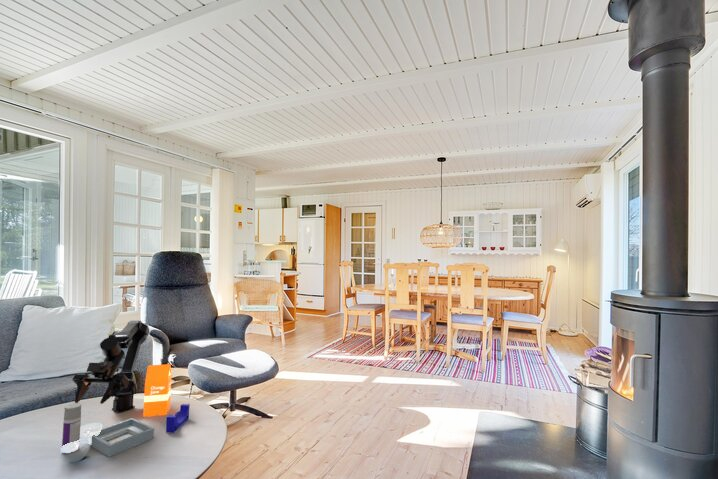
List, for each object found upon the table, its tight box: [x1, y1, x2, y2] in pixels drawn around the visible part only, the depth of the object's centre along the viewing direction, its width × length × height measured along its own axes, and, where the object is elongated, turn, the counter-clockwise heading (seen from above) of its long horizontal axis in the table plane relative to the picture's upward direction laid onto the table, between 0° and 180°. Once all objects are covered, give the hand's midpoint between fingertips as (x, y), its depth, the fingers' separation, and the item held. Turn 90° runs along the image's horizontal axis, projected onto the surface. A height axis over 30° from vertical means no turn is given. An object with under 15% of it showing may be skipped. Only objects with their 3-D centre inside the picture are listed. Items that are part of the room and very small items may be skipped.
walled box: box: [91, 417, 155, 457], centre depth 130 cm, size 15×15×4 cm
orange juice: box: [142, 363, 172, 418], centre depth 154 cm, size 8×9×20 cm
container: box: [61, 402, 82, 447], centre depth 123 cm, size 5×5×15 cm
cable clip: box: [165, 403, 190, 434], centre depth 143 cm, size 12×4×6 cm, turn 0°
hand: (88, 403), depth 131 cm, fingers open, 9 cm apart
